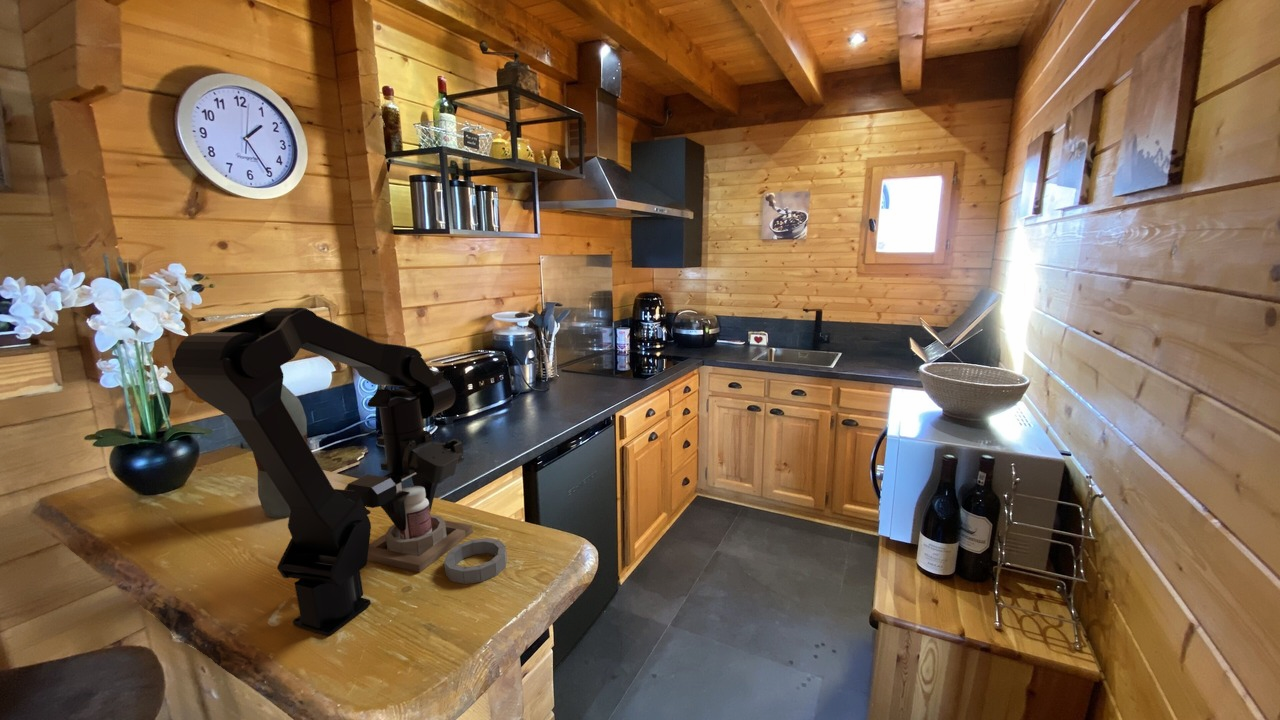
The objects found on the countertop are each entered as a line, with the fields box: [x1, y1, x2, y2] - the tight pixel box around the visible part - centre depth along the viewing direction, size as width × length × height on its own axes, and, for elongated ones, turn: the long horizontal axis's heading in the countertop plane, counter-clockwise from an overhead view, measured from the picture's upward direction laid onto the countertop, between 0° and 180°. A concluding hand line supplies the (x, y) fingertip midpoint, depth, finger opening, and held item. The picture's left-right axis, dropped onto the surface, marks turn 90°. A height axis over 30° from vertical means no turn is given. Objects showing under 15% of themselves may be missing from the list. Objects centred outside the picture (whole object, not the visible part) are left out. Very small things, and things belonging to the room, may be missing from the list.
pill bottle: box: [399, 485, 432, 540], centre depth 83 cm, size 5×5×8 cm
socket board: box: [367, 513, 474, 573], centre depth 84 cm, size 12×12×3 cm
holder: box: [443, 537, 508, 585], centre depth 78 cm, size 8×8×2 cm
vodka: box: [252, 384, 309, 519], centre depth 96 cm, size 9×9×30 cm
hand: (414, 522), depth 84 cm, fingers closed on pill bottle, 5 cm apart
